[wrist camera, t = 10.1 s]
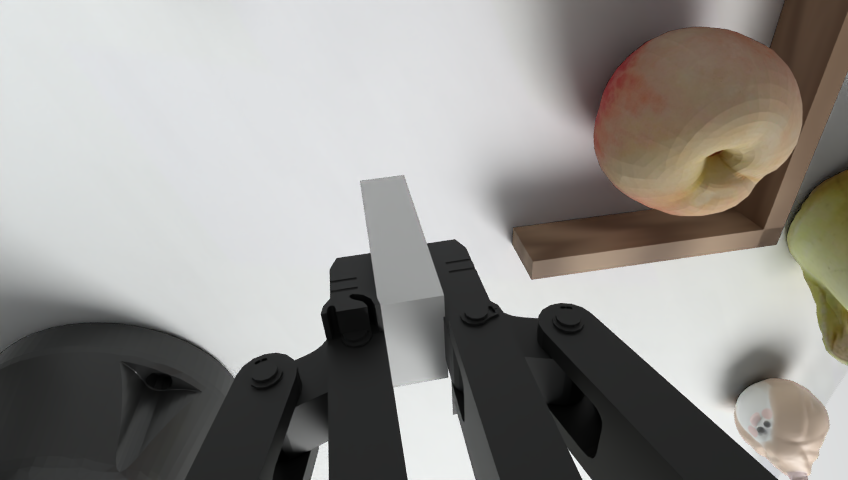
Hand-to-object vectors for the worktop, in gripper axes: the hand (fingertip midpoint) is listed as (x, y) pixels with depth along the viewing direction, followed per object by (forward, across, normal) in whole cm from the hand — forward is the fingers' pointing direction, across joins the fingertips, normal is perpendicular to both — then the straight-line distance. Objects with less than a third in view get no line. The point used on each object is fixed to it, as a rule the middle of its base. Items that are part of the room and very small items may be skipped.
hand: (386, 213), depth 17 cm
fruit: (+8, +14, 0) cm, 17 cm away
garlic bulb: (+8, +30, -27) cm, 41 cm away
